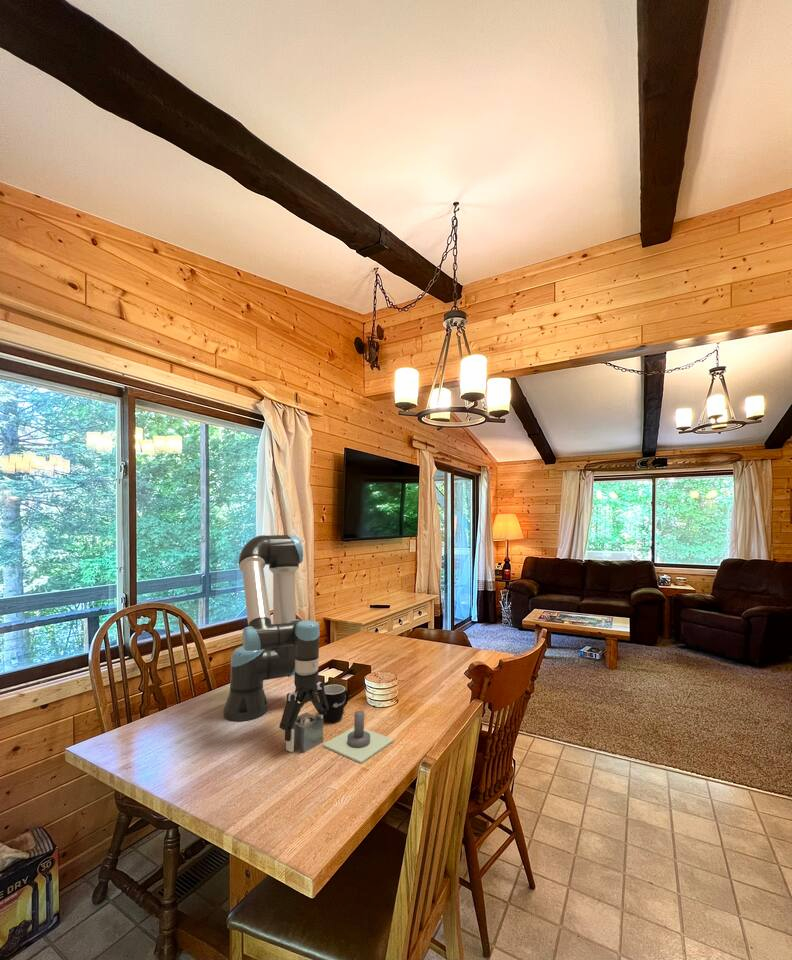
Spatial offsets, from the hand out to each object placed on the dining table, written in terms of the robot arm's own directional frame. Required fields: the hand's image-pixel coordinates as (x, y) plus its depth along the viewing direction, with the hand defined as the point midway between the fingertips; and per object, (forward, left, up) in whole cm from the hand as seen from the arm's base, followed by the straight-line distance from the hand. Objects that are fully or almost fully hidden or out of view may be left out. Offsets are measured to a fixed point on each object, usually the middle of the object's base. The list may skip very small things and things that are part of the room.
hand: (304, 742), depth 138 cm
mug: (-5, +19, 0) cm, 20 cm away
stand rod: (0, 0, 0) cm, 0 cm away
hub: (+14, +10, 0) cm, 17 cm away
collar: (0, 0, 0) cm, 0 cm away
